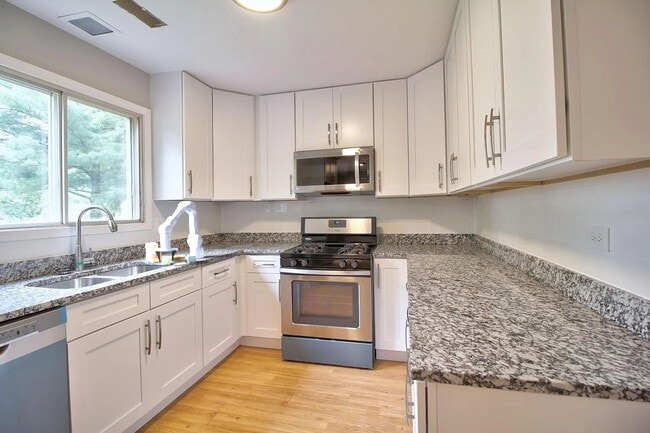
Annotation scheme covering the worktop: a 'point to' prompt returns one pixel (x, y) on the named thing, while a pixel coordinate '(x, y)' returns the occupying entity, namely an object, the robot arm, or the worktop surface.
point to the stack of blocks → (152, 252)
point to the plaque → (181, 264)
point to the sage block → (166, 260)
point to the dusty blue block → (191, 258)
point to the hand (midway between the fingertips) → (166, 262)
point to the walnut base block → (178, 258)
